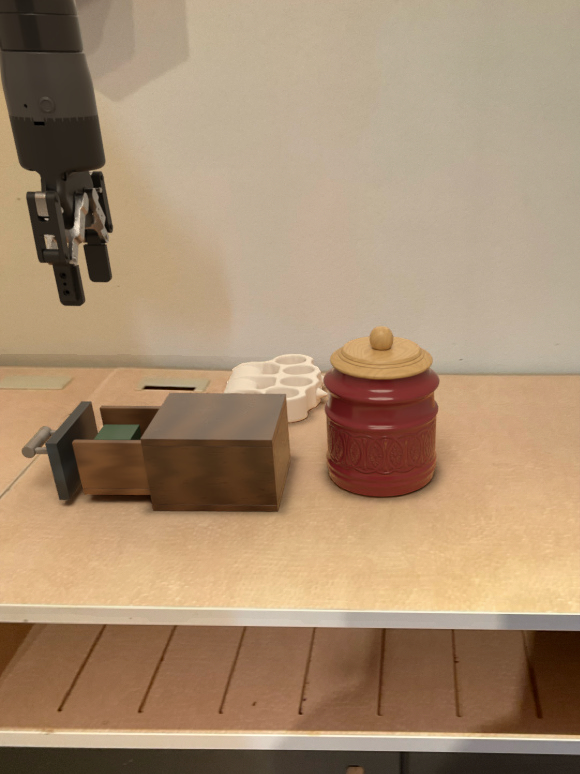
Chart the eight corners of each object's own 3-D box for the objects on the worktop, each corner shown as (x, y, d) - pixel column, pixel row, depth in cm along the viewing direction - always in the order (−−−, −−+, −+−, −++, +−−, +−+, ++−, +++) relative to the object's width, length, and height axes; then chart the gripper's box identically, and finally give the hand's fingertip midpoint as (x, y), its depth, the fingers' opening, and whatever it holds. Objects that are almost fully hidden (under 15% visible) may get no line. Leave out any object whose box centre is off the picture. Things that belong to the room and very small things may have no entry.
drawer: (20, 500, 86) (4, 443, 82) (57, 453, 96) (45, 400, 92) (174, 501, 86) (165, 444, 83) (196, 454, 96) (189, 402, 92)
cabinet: (153, 510, 86) (139, 438, 82) (179, 458, 97) (169, 392, 92) (277, 511, 86) (271, 439, 82) (290, 459, 97) (286, 393, 92)
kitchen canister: (382, 511, 87) (383, 355, 77) (304, 473, 94) (295, 326, 85) (458, 472, 95) (466, 326, 85) (380, 439, 102) (380, 302, 93)
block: (101, 475, 89) (93, 439, 86) (111, 459, 92) (104, 424, 90) (136, 475, 89) (130, 439, 86) (145, 459, 92) (139, 424, 90)
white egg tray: (237, 374, 121) (333, 375, 121) (217, 423, 106) (327, 423, 106) (235, 353, 119) (332, 353, 120) (214, 399, 104) (326, 399, 104)
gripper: (41, 103, 77) (74, 274, 86) (-25, 116, 65) (22, 313, 74) (118, 105, 77) (144, 275, 86) (67, 118, 65) (103, 314, 74)
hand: (88, 292), depth 80 cm, fingers open, 8 cm apart
